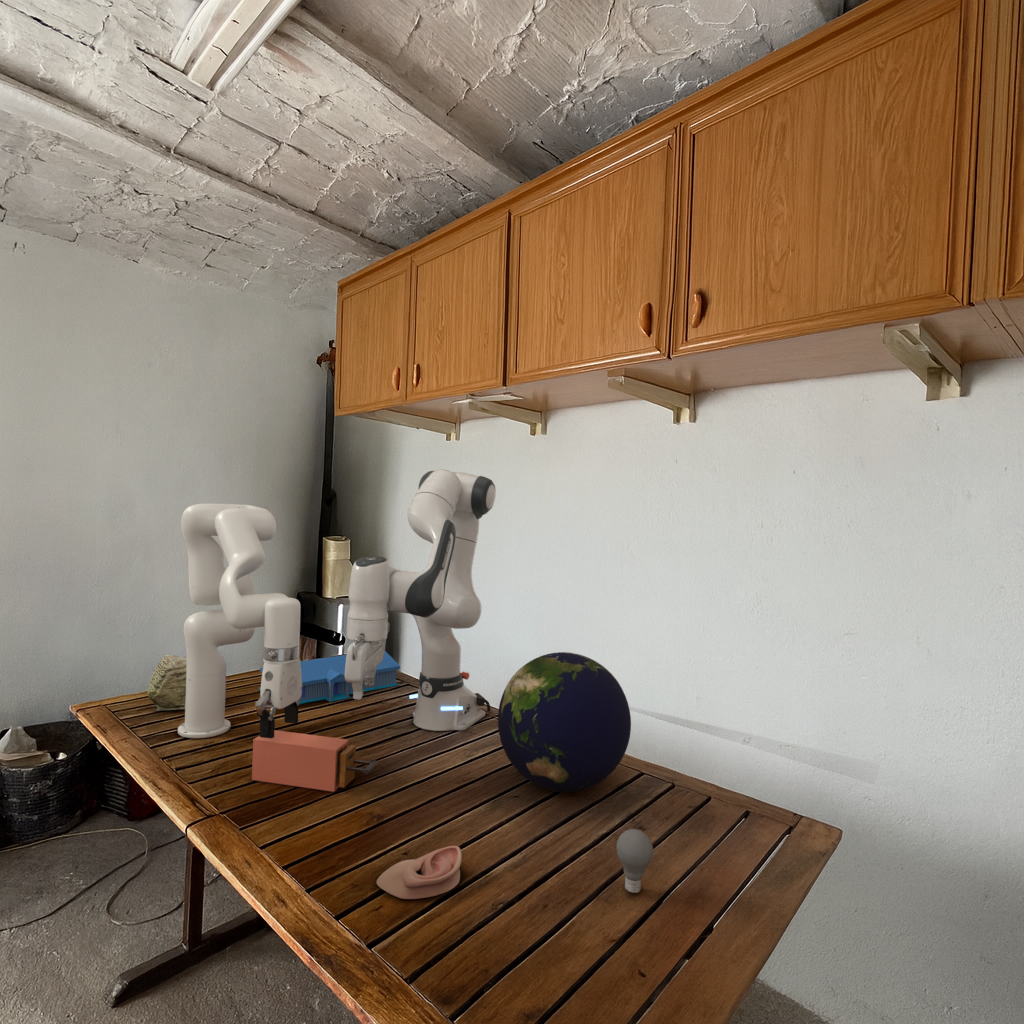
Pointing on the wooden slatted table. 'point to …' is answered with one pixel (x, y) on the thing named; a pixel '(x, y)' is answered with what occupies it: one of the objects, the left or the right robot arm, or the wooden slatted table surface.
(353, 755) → the drawer
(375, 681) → the model building
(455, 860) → the anatomical model
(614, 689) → the globe
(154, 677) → the fossil
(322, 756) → the cabinet
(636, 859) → the light bulb
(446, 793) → the wooden slatted table surface
